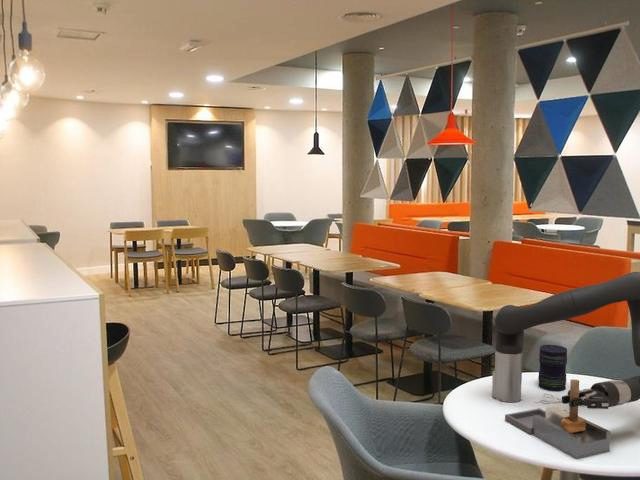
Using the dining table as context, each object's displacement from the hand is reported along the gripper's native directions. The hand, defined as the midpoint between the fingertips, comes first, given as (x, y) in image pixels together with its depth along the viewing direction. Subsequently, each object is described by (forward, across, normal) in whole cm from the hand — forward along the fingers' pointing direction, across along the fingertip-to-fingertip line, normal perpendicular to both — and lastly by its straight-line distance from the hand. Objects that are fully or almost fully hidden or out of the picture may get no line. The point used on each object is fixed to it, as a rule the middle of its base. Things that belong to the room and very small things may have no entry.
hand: (566, 401), depth 183 cm
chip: (-3, -4, +10) cm, 11 cm away
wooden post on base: (-3, 0, +9) cm, 9 cm away
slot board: (-3, -1, +14) cm, 14 cm away
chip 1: (-3, -8, +10) cm, 12 cm away
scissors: (-26, -27, +14) cm, 40 cm away
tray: (-3, -16, +14) cm, 21 cm away
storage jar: (-33, -41, +14) cm, 54 cm away
